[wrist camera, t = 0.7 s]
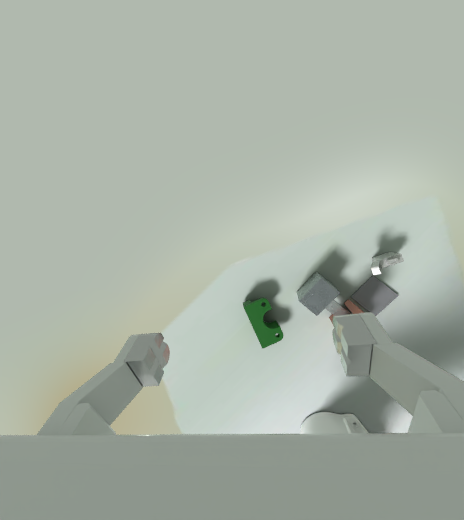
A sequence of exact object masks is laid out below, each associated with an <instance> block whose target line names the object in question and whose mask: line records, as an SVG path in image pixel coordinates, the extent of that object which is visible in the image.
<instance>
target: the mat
mask: <svg viewBox="0 0 464 520" xmlns="http://www.w3.org/2000/svg"><path fill="white" fill-rule="evenodd" d="M397 296H399V295H397V294H396V293H395V292H394V291H392V290H391V289H390V288H389V287H387V286H386V285H385V284H384V283H382V282H381V281H380V280H379V279H377V278H376V277H375V276H372V277H371V278H370V279H369V280H368V281H367V282H366V283H365V284H364V285H362V286H361V287H360V288H359V289H358V290H357V291H356V292H355V293H354V294H353V295H352V296H351V297H352V298H353V299H354V300H355V301H356V302H358V303H359V304H360V305H361V306H363V307H364V308H365V309H366V310H368V311H369V312H371V313H373V314H374V315H375V316H376V315H377V314H379V313H380V312H381V311H382V310H383V309H384V308H385V307H386V306H387V305H389V304H390V303H391V302H392V301H393V300H394V299H395V298H396V297H397Z"/></svg>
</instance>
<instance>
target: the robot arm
mask: <svg viewBox="0 0 464 520" xmlns="http://www.w3.org/2000/svg"><path fill="white" fill-rule="evenodd" d="M333 325H334V327H335V328H334V329H333V339H334V344H335V347H336V350H337V352H338V353H339V354H340V355H341V363H342V366H343V368H344V371H345V373H346V376H370V378H371V379H372V380H374V381H375V382H376V383H377V384H378V385H379V386H380V387H381V388H382V389H383V390H385V391H386V392H387V393H388V394H389V395H390V396H391V397H392V398H393V399H395V400H396V401H397V402H398V403H399V404H400V405H401V406H402V407H403V408H404V409H406V410H407V411H408V412H409V413H410V414H411V415H412V416H413V418H412V421H411V424H410V427H409V430H408V433H369V432H368V431H367V430H366V428H365V427H364V426H363V425H362V424H361V422H360V421H359V420H358V419H357V417H356V416H355V415H353V414H335V413H331V412H319V413H315V414H313V415H311V416H309V417H308V418H307V419H306V420H305V421H304V422H303V424H302V426H301V430H300V434H176V435H175V434H170V435H116V433H115V431H114V430H113V429H112V428H111V427H110V425H111V424H112V422H113V421H114V420H115V419H116V418H117V417H118V416H119V414H120V413H121V412H122V411H123V410H124V409H125V408H126V406H127V405H128V404H129V403H130V402H131V401H132V400H133V398H134V397H135V396H136V395H137V394H138V393H139V391H140V390H141V389H142V388H143V387H146V386H158V385H159V384H160V381H161V379H162V376H163V374H164V371H163V367H164V366H165V365H166V364H167V363H168V360H169V354H170V351H169V347H168V345H167V344H166V343H165V342H163V339H164V337H163V335H162V334H161V333H150V334H139V335H132V336H130V337H129V338H128V340H127V341H126V343H125V345H124V346H123V348H122V350H121V351H120V353H119V354H118V356H117V358H116V359H115V361H114V363H110V364H109V365H108V366H106V367H105V368H104V369H102V370H101V371H100V372H99V373H97V374H96V375H95V376H93V377H92V378H91V379H90V380H89V381H87V382H86V383H85V384H83V385H82V386H81V387H79V388H78V389H77V390H76V391H74V392H73V393H72V394H71V395H69V396H68V397H67V398H66V399H64V400H63V401H62V402H60V403H59V405H58V407H57V408H56V409H55V410H54V412H53V413H52V415H51V416H50V417H49V419H48V420H47V421H46V423H45V424H44V425H43V427H42V428H41V430H40V431H39V433H38V434H37V435H3V436H2V435H0V520H464V381H462V380H460V379H458V378H457V377H455V376H453V375H452V374H450V373H448V372H446V371H445V370H443V369H441V368H440V367H438V366H436V365H434V364H433V363H431V362H429V361H428V360H426V359H424V358H422V357H421V356H419V355H417V354H416V353H414V352H412V351H411V350H409V349H407V348H405V347H404V346H402V345H400V344H399V343H393V342H392V341H391V339H390V338H389V336H388V335H387V333H386V332H385V330H384V329H383V327H382V326H381V324H380V323H379V321H378V320H377V318H376V317H375V315H374V314H373V313H371V312H367V313H358V314H349V315H339V316H333Z"/></svg>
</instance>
